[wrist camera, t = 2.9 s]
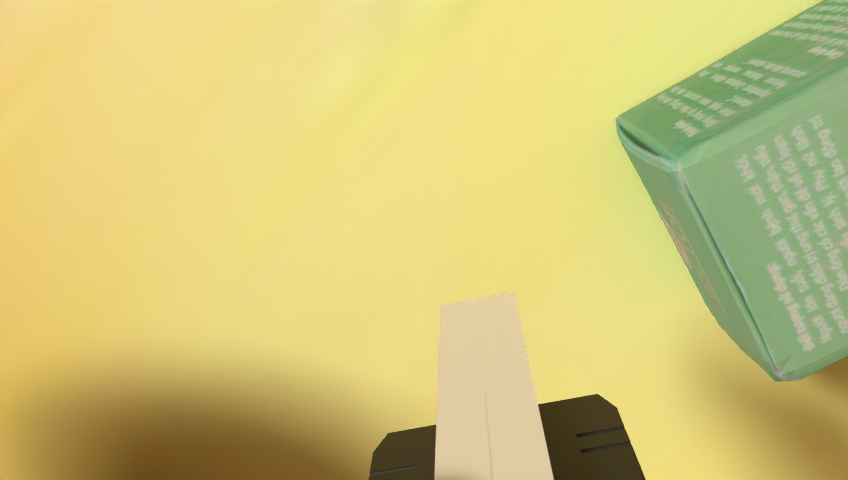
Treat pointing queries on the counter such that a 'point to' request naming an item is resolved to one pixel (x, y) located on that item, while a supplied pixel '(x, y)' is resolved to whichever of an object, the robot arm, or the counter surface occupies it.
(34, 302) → the counter surface
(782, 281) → the box
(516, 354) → the robot arm
